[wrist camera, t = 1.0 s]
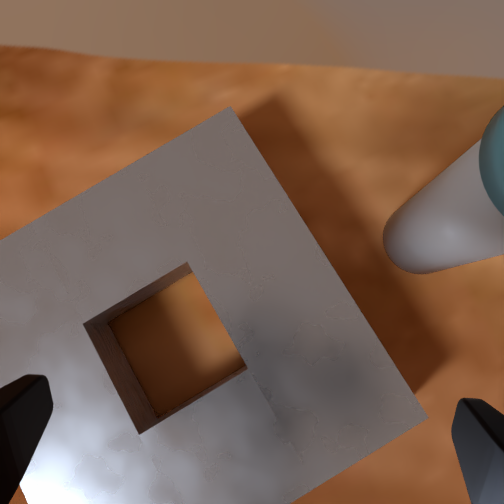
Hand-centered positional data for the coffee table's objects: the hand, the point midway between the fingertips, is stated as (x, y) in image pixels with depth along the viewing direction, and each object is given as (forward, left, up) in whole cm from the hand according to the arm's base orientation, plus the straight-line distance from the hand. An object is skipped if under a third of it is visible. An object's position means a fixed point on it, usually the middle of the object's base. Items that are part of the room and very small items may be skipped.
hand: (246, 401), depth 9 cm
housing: (+3, +4, -14) cm, 14 cm away
